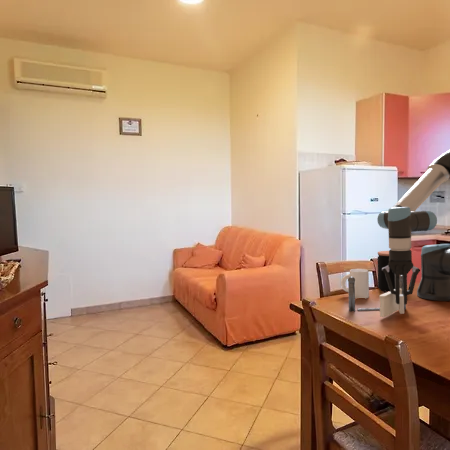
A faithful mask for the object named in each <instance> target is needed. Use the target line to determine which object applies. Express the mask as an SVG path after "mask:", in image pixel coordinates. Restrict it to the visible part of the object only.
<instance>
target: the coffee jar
mask: <svg viewBox="0 0 450 450" xmlns="http://www.w3.org/2000/svg"><path fill="white" fill-rule="evenodd" d="M377 255H378V256H377V287H378V290H380V291H382V290H383V291H382V292H386V291H390V289H389V286H388V282H387V279H386V276H385V273H384V272H383V271H382V268H383V267H386V266H388V263H389V250H379V251H377ZM388 273H389V276H390V279H391V282H392V286H393V289H395V274H394V273H393V272H392V270H391V269H390V268H389V272H388ZM400 275H402V274H400ZM400 275H399V276H400Z"/></svg>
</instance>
